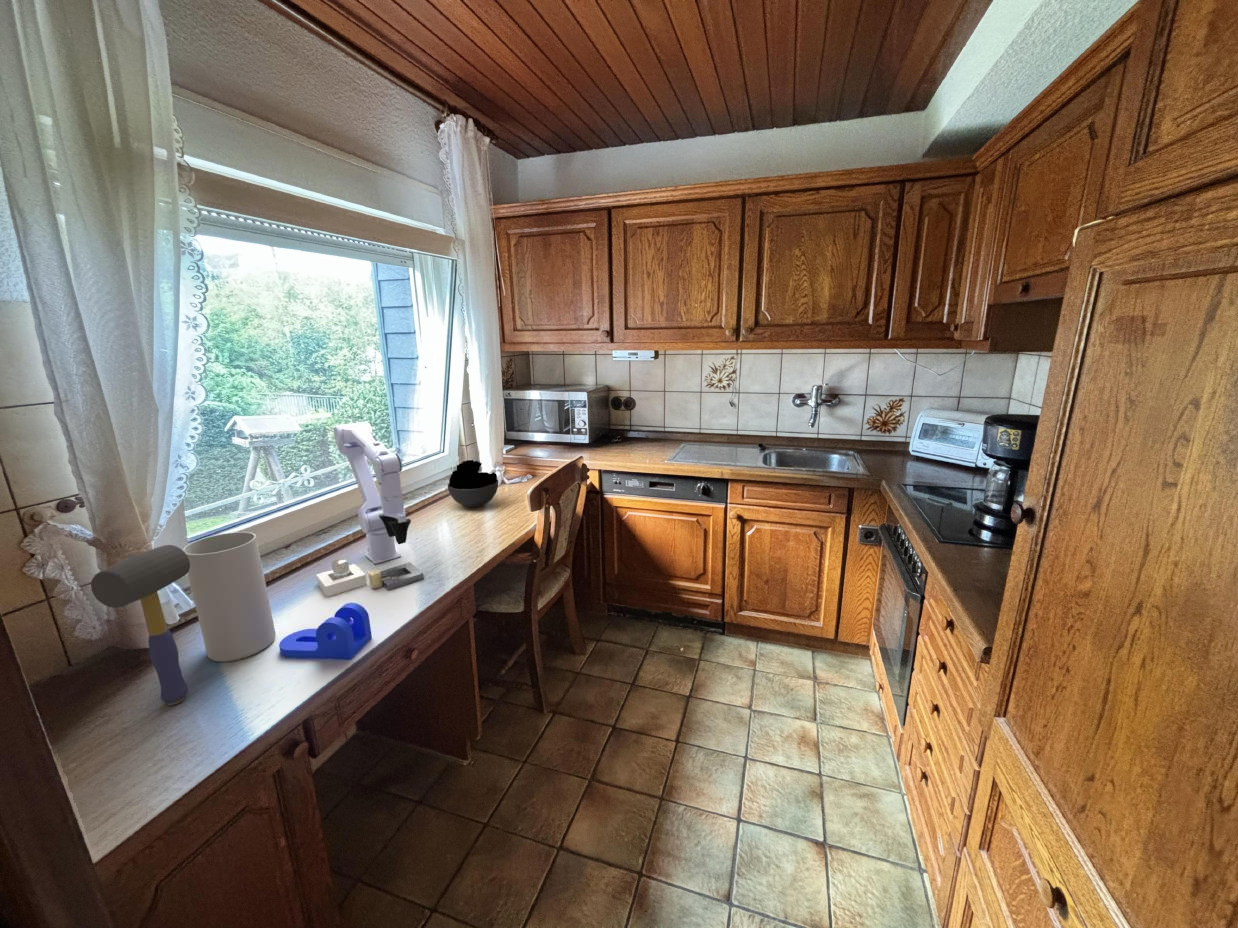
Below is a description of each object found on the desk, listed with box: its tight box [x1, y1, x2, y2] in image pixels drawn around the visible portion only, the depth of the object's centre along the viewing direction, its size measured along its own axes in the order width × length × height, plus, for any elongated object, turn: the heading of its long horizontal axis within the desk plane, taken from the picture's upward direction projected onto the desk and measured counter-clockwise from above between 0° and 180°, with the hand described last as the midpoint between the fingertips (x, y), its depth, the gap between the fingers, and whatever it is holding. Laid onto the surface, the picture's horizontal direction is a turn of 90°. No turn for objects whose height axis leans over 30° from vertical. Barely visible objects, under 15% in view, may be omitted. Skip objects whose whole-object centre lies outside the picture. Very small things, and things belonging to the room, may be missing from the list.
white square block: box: [316, 563, 368, 598], centre depth 142 cm, size 10×10×3 cm
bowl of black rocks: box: [447, 459, 499, 508], centre depth 206 cm, size 20×20×19 cm
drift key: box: [367, 568, 389, 590], centre depth 142 cm, size 3×5×4 cm, turn 133°
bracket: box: [278, 602, 373, 661], centre depth 112 cm, size 18×8×9 cm, turn 86°
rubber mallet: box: [90, 544, 190, 706], centre depth 93 cm, size 12×8×30 cm, turn 175°
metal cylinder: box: [331, 557, 350, 580], centre depth 142 cm, size 4×4×7 cm
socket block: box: [379, 562, 425, 591], centre depth 145 cm, size 10×10×2 cm
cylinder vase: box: [182, 531, 276, 663], centre depth 111 cm, size 12×12×25 cm
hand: (397, 539), depth 149 cm, fingers open, 7 cm apart
